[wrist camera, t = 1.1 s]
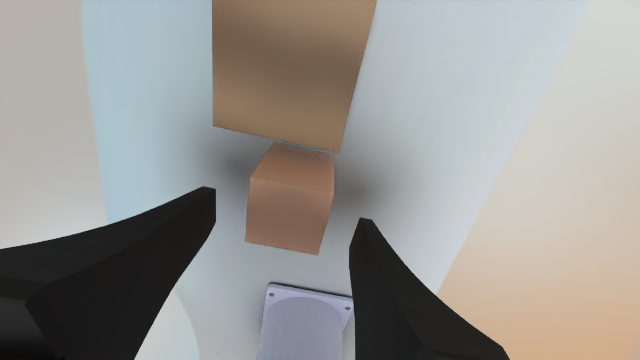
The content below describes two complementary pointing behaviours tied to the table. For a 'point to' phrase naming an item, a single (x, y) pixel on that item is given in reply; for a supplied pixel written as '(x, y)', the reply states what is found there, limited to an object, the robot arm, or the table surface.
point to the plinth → (288, 66)
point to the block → (290, 199)
